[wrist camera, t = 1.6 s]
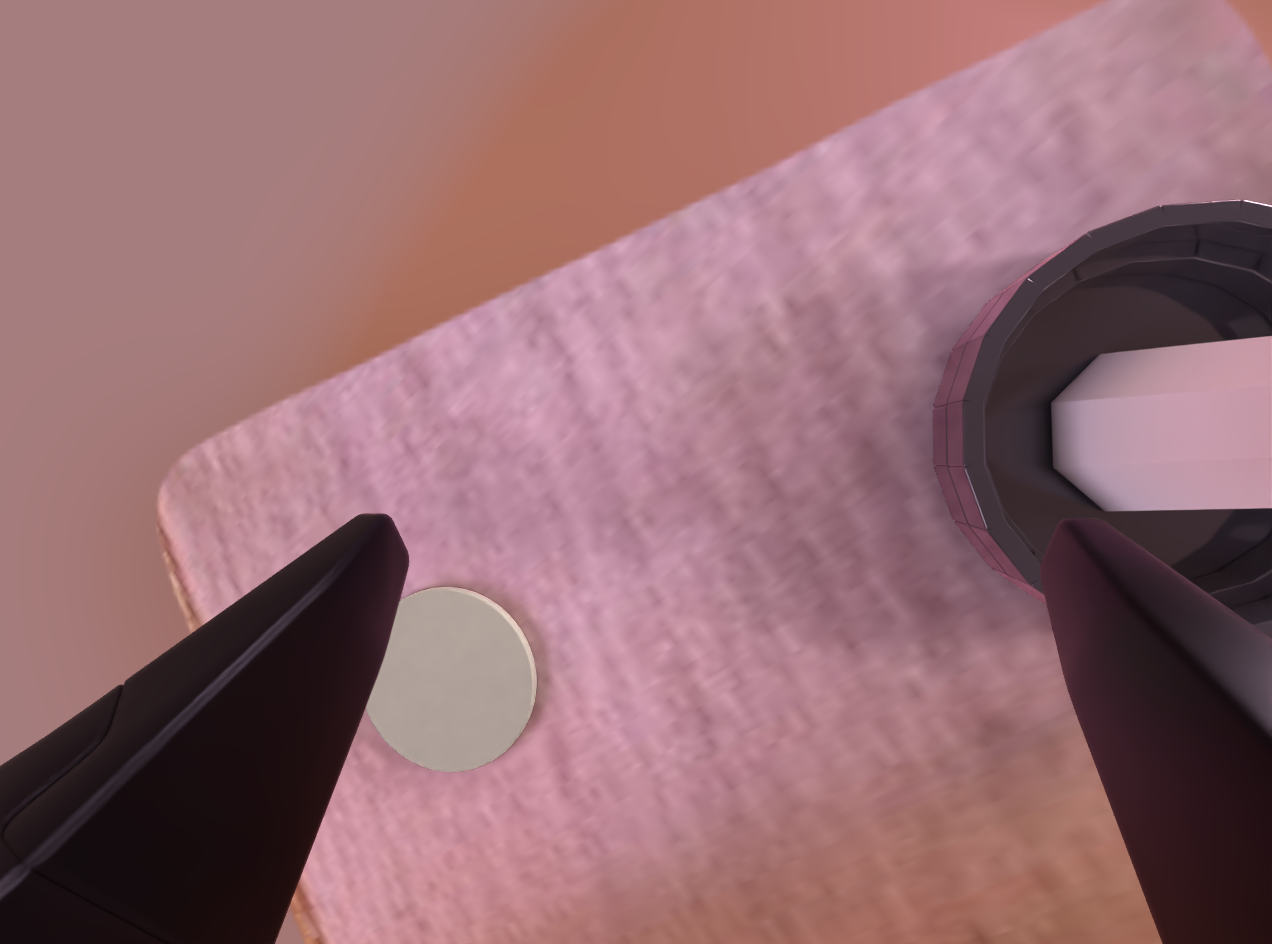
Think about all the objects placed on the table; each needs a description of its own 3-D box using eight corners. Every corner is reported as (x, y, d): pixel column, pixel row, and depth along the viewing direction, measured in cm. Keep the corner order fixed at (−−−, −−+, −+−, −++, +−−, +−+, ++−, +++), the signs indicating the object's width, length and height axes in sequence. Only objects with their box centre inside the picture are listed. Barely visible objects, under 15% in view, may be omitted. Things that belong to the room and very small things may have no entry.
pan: (1438, 379, 20) (1585, 363, 16) (1176, 693, 21) (1260, 740, 18) (1080, 171, 21) (1145, 115, 18) (855, 478, 23) (875, 481, 19)
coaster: (572, 660, 24) (568, 664, 24) (472, 803, 25) (467, 810, 25) (427, 550, 25) (421, 552, 25) (334, 692, 26) (327, 696, 26)
